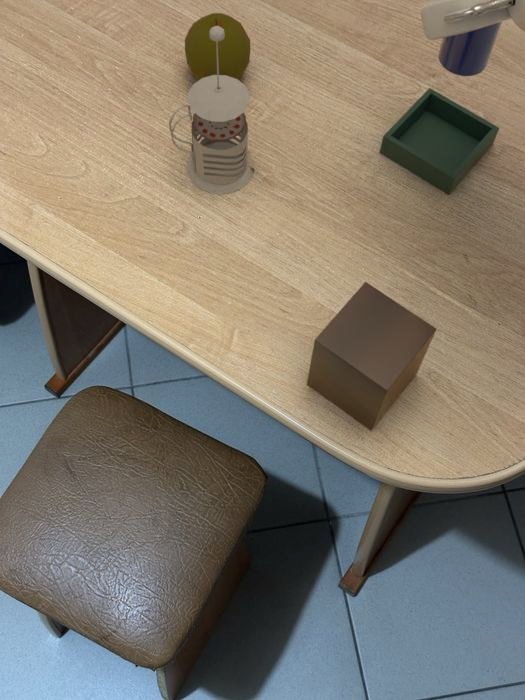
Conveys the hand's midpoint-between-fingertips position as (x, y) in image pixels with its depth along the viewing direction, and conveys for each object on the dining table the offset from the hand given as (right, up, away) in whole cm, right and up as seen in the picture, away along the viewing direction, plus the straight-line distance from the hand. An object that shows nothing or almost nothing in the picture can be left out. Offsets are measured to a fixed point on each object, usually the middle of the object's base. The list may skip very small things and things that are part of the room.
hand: (475, 6), depth 96 cm
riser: (-12, -43, +10) cm, 46 cm away
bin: (+1, -10, +27) cm, 29 cm away
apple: (-31, +3, +33) cm, 46 cm away
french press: (-31, -13, +25) cm, 42 cm away
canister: (0, -4, +6) cm, 7 cm away
